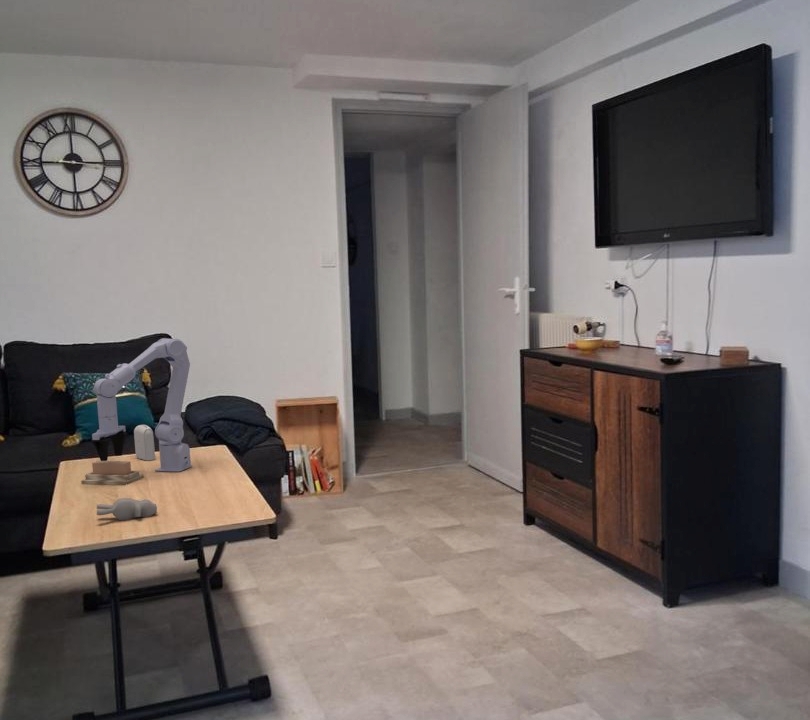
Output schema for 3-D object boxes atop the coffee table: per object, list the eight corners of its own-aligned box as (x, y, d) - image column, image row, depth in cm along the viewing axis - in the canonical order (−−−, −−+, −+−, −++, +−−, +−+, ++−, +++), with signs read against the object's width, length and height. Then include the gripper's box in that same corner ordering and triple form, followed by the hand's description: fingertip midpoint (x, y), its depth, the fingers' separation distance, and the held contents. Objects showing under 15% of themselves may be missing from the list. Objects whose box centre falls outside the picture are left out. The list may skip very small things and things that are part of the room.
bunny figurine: (157, 503, 214) (97, 504, 209) (156, 522, 215) (96, 524, 209) (155, 495, 223) (97, 496, 218) (154, 513, 223) (96, 515, 218)
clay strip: (131, 476, 261) (130, 461, 260) (125, 479, 258) (124, 463, 257) (99, 476, 264) (98, 460, 264) (93, 478, 261) (92, 462, 261)
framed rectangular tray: (143, 477, 264) (143, 469, 263) (125, 485, 254) (124, 477, 254) (101, 476, 268) (100, 468, 268) (81, 483, 258) (80, 476, 258)
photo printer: (134, 457, 297) (131, 424, 296) (145, 455, 299) (143, 422, 298) (145, 461, 289) (142, 427, 288) (156, 459, 292) (154, 425, 290)
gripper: (111, 412, 267) (114, 453, 268) (82, 420, 253) (86, 462, 255) (129, 412, 265) (132, 453, 267) (101, 420, 251) (105, 463, 253)
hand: (111, 458), depth 260 cm, fingers open, 7 cm apart
